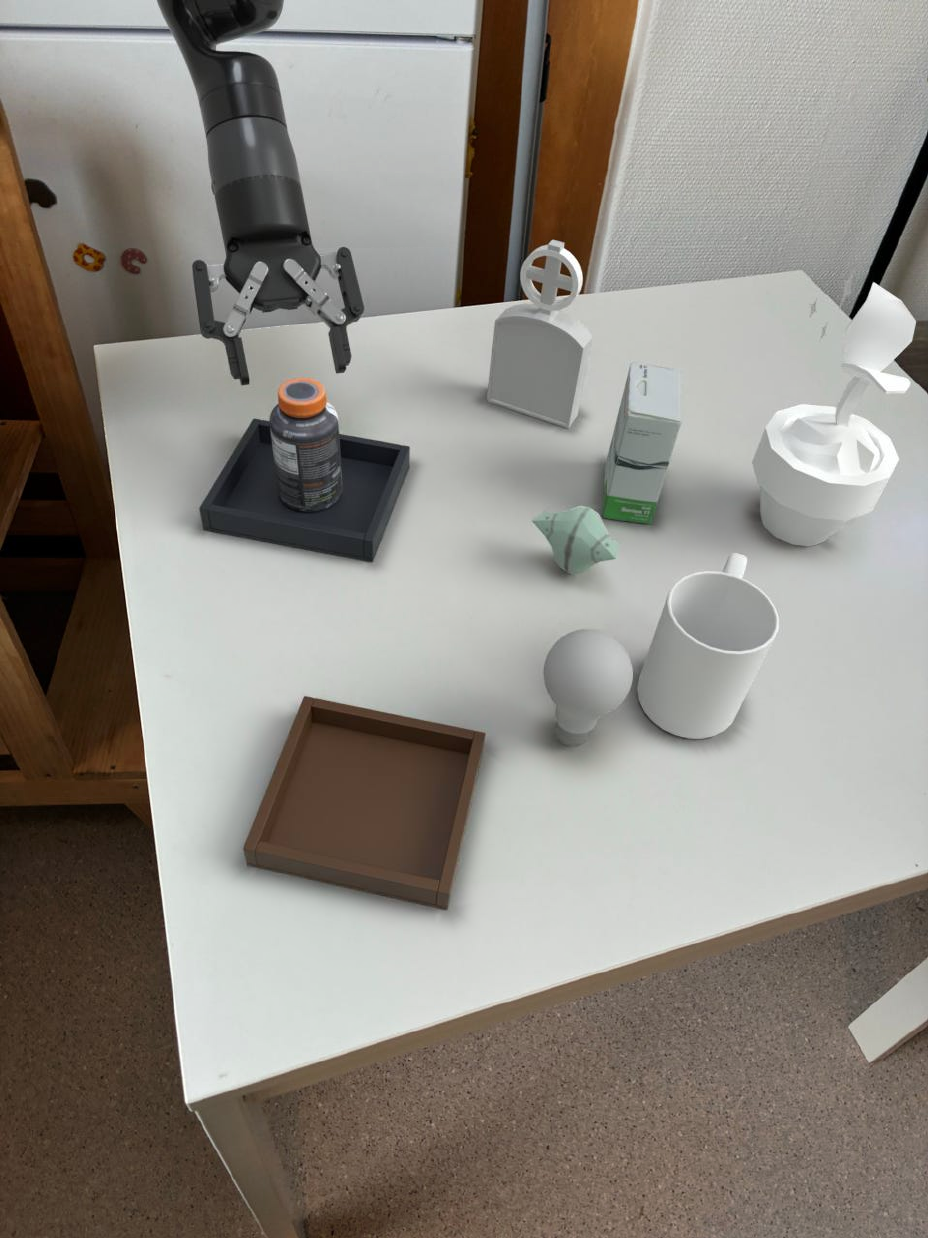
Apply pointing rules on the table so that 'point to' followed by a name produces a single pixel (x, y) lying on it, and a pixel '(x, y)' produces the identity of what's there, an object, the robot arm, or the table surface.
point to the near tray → (368, 802)
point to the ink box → (642, 442)
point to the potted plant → (835, 435)
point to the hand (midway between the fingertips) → (294, 377)
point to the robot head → (577, 538)
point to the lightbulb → (585, 681)
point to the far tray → (342, 529)
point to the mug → (706, 651)
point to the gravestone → (541, 344)
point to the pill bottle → (306, 446)
